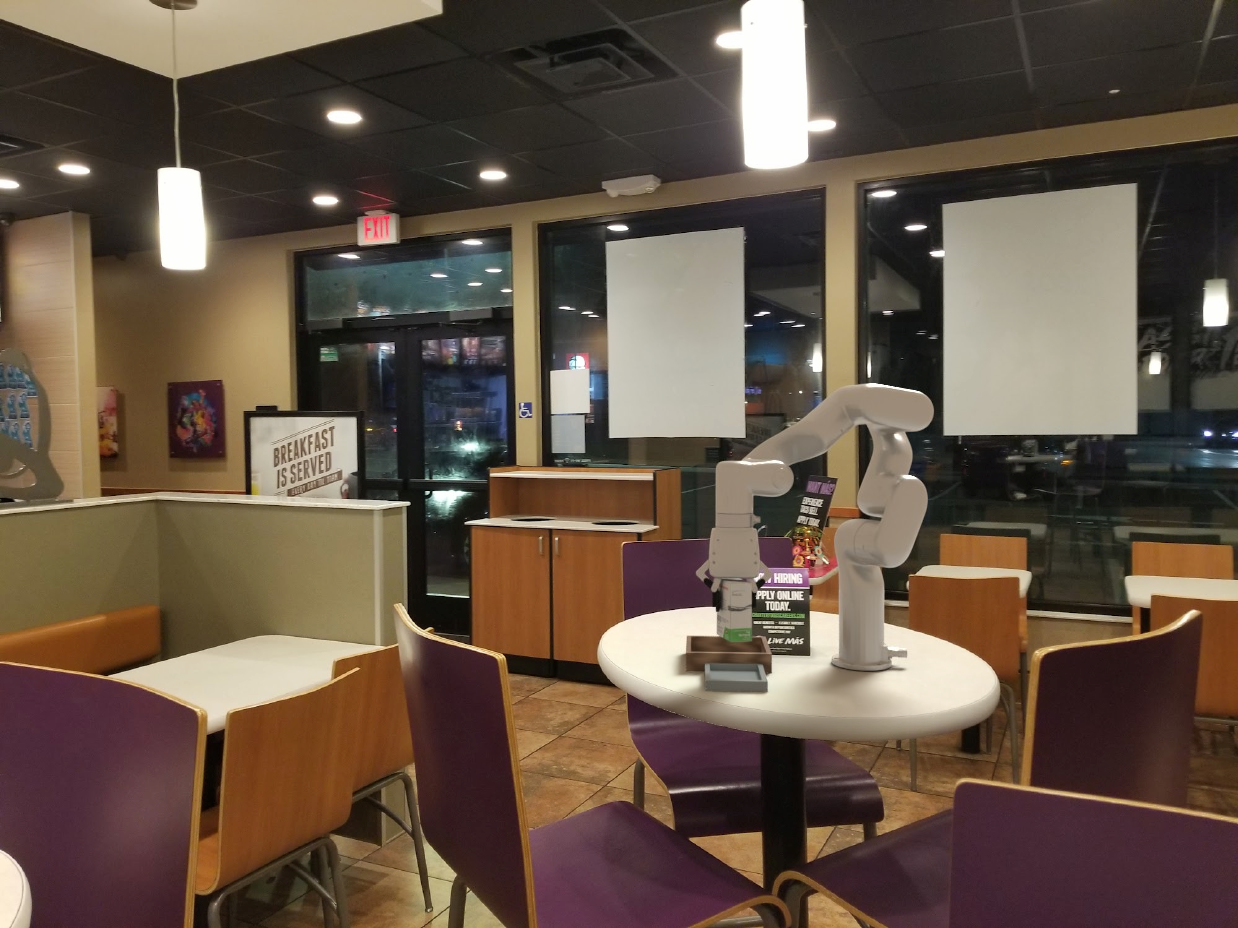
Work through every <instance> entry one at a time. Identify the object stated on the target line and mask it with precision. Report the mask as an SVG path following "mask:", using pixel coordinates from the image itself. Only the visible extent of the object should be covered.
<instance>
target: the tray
mask: <svg viewBox="0 0 1238 928" xmlns="http://www.w3.org/2000/svg"><path fill="white" fill-rule="evenodd" d="M766 674H767V673H765V671H764V668H763V664H740V663H705V672H704V682H705V683H704V685H705V689H704V690H705V691H707V692H753V693H755V692H757V693H758V692H759V693H760V692H761V693H762V692H763V693H767V692H768V691H769V689H768V687H769V685H768V684H769V681H768V679H767V675H766Z"/></svg>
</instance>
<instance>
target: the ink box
mask: <svg viewBox="0 0 1238 928" xmlns="http://www.w3.org/2000/svg"><path fill="white" fill-rule="evenodd" d="M718 589H719V592H720V611H719V612H716V636H721V637H722V638H724V639H726V640H728V641H729V642H746V641H752V636H753V618H752V617H753V613H752V583H749V582H748V580H747V581H746V579H725V578H722V579H721V581H720V584H719V586H718Z"/></svg>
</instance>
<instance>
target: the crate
mask: <svg viewBox="0 0 1238 928" xmlns="http://www.w3.org/2000/svg"><path fill="white" fill-rule="evenodd" d="M685 644H686V645H685V672H695V673H697V672H698V673H699V672H701V673H705V663H740V664H763V668H764V671H765V674H772V671H773V657H772V656H773V654H772V651H771V649H770V646H769V643H768V640H767V638H766V636H756V635H752V641H746V642H729V641H728V640H726V639H724V638H722V637H721V636H719V635H686V643H685Z"/></svg>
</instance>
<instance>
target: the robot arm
mask: <svg viewBox="0 0 1238 928" xmlns="http://www.w3.org/2000/svg"><path fill="white" fill-rule="evenodd" d="M934 411H935V409H934V405H933V403H932V400H931V399H930V398H929V397H928V396H927V395H926V394H924V393H923V392H921V391H917V390H913V389H907V388H902V387H897V386H896V387H895V386H890V385H884V384H878V383H860V384H852V385H851V384H850V385H845V386H841V387H839V388H838V389H835V391H832V393H830V394H829V395H828V396H827V397H826V398H825V399H823V400H822V401H821V402H820V403H819V404H818V405H817V406H816V407H814V409H812V410H811V411H810V412H809V413H807V414H806V415H805V416H804V417H803V418H802V419H801V420H799V421H798V422H797V423H795V424H793V425H790V426H789V427H787V428H785V429H784V430H782V431H780V432H779V433H777V434H775V435H773V436H772V437H770V438H767V439H766V440H765V441H762V443H760V444H758V445H757V446H756V447H755V448H753V449H752V451H750V452H749V453H748V454H747V455H746V456H745V457H743V458H742V459H741V460H724V461H723V460H722V461H720V462H718V463H717V464H716V467H715V527H713V528H711V532H710V538H709V550H708V559H707V560H706V561H705V562H704V563H703V564H702V565H701V566H700V567H699V568H698V569H697V570H696V571H695V576H697V578H698V579H700V580H701V582H703V584H704V585H705V586H707V587H708V588H709V590H710V591H711V593H712V594H711V595H712V601H711V602H712V603H711V605H712V608H715V613H717V612H719V611H720V592H719V589H718V586H719V584H720V581H721V579H722V578H725V579H742V580H747V582H749V583H752V614H753V613H754V608H757V593H758V591H759V590H760V589H761V588H762V587H763V586H764V585H765V584H766V583H767V582H768V581H769V580H771V579H772V577H773V576H774V574H773V571H771V569H769V567H767V565H765V563H764V562H763V561H762V560H761V558H760V545H759V544H760V543H759V535H758V530H757V528H754V526H755V524H760V523H761V516H757V515H755V514H754V496H760V497H771V498H773V497H774V498H775V497H781V496H782V495H785V494H786V493H788V492H789V491H790V489H792V487H793V484H794V480H795V479H794V476H795V475H794V472H793V470H792V468H791V467H790V466H791V465H793V464H796V463H799V462H803V461H806V460H807V461H808V460H811V459H813V458H815V457H818V456H820V455H823V454H825V453H827V451H829V450H830V449H831V448H833V447H834V446H835V444H837V443H838V442H839V441H840V440H841V439H842V438H844V436H845V435H847V434H848V433H849V432H850V431H852V430H853V428H855V427H856V426H859V425H866V426H867V428H868V431H869V433H870V436H871V438H872V444H873V450H872V455H871V457H870V458H871V459H870V461H869V464H868V466H867V469H866V472H865V474H864V477H863V479H862V482H861V485H860V486H859V490H858V493H857V497H856V498H857V499H856V502H857V507H858V508H859V510H860V511H861V512H862V513H863V514H865V515H867V516H870V517H877V518H881V519H880V520H874V519H866V518H865V519H864V518H853V519H848V520H846V521H844V522H842V523H841V524H840V525H838V528H837V529H836V531H835V533H834V539H833V541H834V542H833V543H834V544H833V547H834V553H835V557H836V563H837V569H838V653H835V654H834V655H833V656H831V663H832V664H833V665H834V666H836V667H839V668H842V669H846V670H852V671H864V672H866V671H867V672H873V671H882V670H887V669H890V668H892V665H893V664H892V659H893V658H905V659H907V658H908V649H907V648H899V647H897V646H895V647H894V646H888V645H887V643H885V581H884V577H883V573H882V570H881V568H888V569H891V568H897V567H899V566H901V565H902V564H904V563H905V561H907V559H908V558H909V556H910V554H911V553H912V549H913V547H914V544H915V541H916V539H917V537H918V534H919V531H920V528H921V526H922V523H923V520H924V517H925V516H926V512H927V508H928V500H929V499H928V492H927V488H926V486H925V484H924V483H923V482H922V481H921V479H919V478H918V477H915V476H914V475H913V476H912V475H909V472H910V469H911V466H912V462H913V449H912V445H911V443H910V441H909V438H908V436H907V434H906V433H908V432H911V433H912V432H919V431H922V430H924V429H925V428H927V427H929V425H930V423H931V422H932V421H933V418H934V413H935V412H934ZM760 570H761V572H763V575H762V576H761V577H760V578H759V579H758V580H756V581H755V579H756V578H758V577H759V576H760ZM706 571H708V572H709V575H710V576H711V577H712V578H713V581H712V579H710V577H708V576H707V575H706Z"/></svg>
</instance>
